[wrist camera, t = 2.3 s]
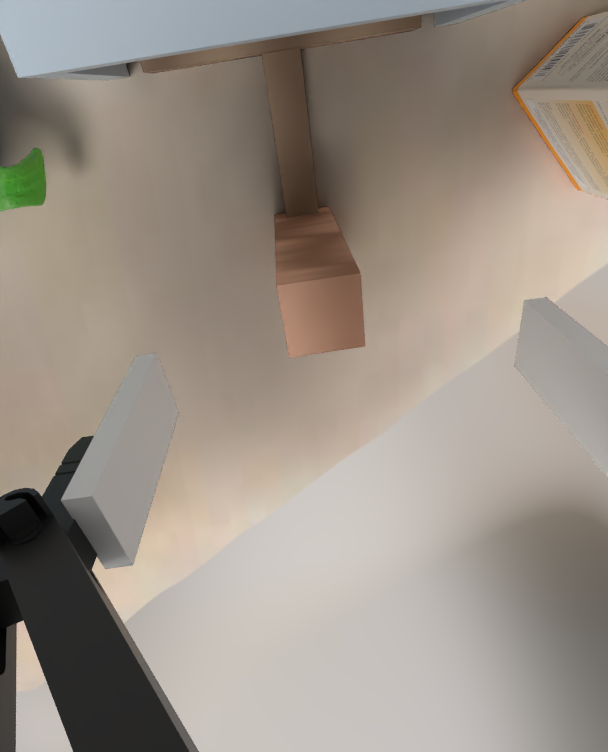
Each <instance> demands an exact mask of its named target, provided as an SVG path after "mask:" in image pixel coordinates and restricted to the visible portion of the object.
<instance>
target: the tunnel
mask: <svg viewBox="0 0 608 752" xmlns="http://www.w3.org/2000/svg"><path fill="white" fill-rule="evenodd" d="M523 1H526V0H0V35H1V37H2V40H3V42H4V45H5V47H6V50H7V52H8V54H9V57H10V59H11V62H12V64H13V67H14V69H15V72H16V74H17V77H18V78H42V79H75V80H107V81H108V80H114V79H120V78H126V77H129V73H128V70H127V66H126V63H129V62H136V61H142V60H148V59H154V58H160V57H166V56H172V55H178V54H184V53H191V52H197V51H203V50H209V49H215V48H221V47H227V46H233V45H239V44H245V43H252V42H258V41H264V40H270V39H276V38H282V37H288V36H294V35H300V34H307V33H313V32H319V31H325V30H331V29H337V28H343V27H349V26H355V25H361V24H368V23H374V22H380V21H386V20H392V19H398V18H404V17H410V16H416V15H422V14H429V13H434V27H439V26H445V25H451V24H457V23H460V22H463V21H466V20H469V19H472V18H475V17H478V16H481V15H484V14H487V13H490V12H493V11H496V10H499V9H502V8H505V7H508V6H511V5H514V4H517V3H520V2H523Z"/></svg>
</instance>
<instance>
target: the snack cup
mask: <svg viewBox="0 0 608 752" xmlns="http://www.w3.org/2000/svg"><path fill="white" fill-rule="evenodd" d="M45 196H46V180H45V170H44V160H43V155H42V151H41V150H40V149H38V148H34V149H33V150H32V151H31V153H30V154H29V155H28V156H27V157H26V158H25V159H23V160H22V161H21V162H20V163H19V164H17V165H14V166H11V167H0V211H4V210H8V209H14V208H19V207H24V206H38V205H42V204H43V203H44V200H45Z"/></svg>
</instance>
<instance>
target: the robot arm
mask: <svg viewBox="0 0 608 752" xmlns="http://www.w3.org/2000/svg"><path fill="white" fill-rule="evenodd" d="M514 366H515V368H516V369H517V370H518V371H519V373H520V374H521V375H522V376H523V377H524V379H525V380H526V381H527V382H528V383H529V385H530V386H531V387H532V388H533V389H534V391H535V392H536V393H537V394H538V395H539V397H540V398H541V399H542V400H543V401H544V403H545V404H546V405H547V406H548V407H549V409H550V410H551V411H552V412H553V413H554V415H555V416H556V417H557V418H558V419H559V420H560V422H561V423H562V424H563V425H564V426H565V428H566V429H567V430H568V431H569V432H570V434H571V435H572V436H573V437H574V438H575V440H576V441H577V442H578V443H579V444H580V446H581V447H582V448H583V449H584V450H585V452H586V453H587V454H588V455H589V456H590V457H591V459H592V460H593V461H594V462H595V464H596V465H597V466H598V467H599V468H600V470H601V471H602V472H603V473H604V474H605V476H606V477H607V478H608V346H607V345H606V344H604V343H603V342H602V341H601V340H599V339H598V338H597V337H596V336H594V335H593V334H592V333H591V332H589V331H588V330H587V329H586V328H584V327H583V326H582V325H581V324H579V323H578V322H577V321H575V320H574V319H573V318H572V317H570V316H569V315H568V314H567V313H565V312H564V311H563V310H562V309H560V308H559V307H558V306H557V305H555V304H554V303H553V302H552V301H550V300H549V299H548V298H547V297H545V298H538V299H531V300H524V306H523V312H522V319H521V325H520V332H519V338H518V345H517V351H516V358H515V365H514ZM178 414H179V412H178V409H177V406H176V403H175V401H174V398H173V395H172V393H171V390H170V387H169V385H168V382H167V379H166V376H165V374H164V371H163V368H162V366H161V363H160V360H159V358H158V355H157V353H153V354H146V355H138V356H136V357H135V359H134V361H133V362H132V364H131V366H130V368H129V370H128V372H127V374H126V376H125V378H124V380H123V382H122V384H121V385H120V387H119V389H118V391H117V393H116V395H115V397H114V399H113V401H112V403H111V405H110V407H109V408H108V410H107V412H106V414H105V416H104V418H103V420H102V422H101V424H100V426H99V428H98V430H97V431H96V433H95V435H94V436H88V437H82V438H81V439H80V440H79V441H78V442H77V443H76V444H74V445H73V446H72V447H71V448H70V449H69V451H68V452H67V454H66V456H65V458H64V459H63V461H62V465H60V466H59V468H58V470H57V472H56V473H55V474H56V476H54V477H53V479H52V480H51V482H50V484H49V486H48V487H47V489H46V491H45V493H44V494H43V496H42V497H41V495H40V494H39V493H38V492H37V491H36V490H35V489H30V488H23V489H18V490H14V491H12V492H10V493H7V494H5V495H3V496H1V497H0V752H15V746H16V738H15V737H16V625H17V623H18V622H20V621H23V620H24V623H25V625H26V628H27V631H28V633H29V636H30V639H31V641H32V644H33V646H34V649H35V652H36V654H37V657H38V660H39V662H40V665H41V668H42V670H43V673H44V676H45V678H46V681H47V683H48V686H49V689H50V691H51V694H52V697H53V699H54V702H55V704H56V707H57V710H58V712H59V715H60V718H61V720H62V723H63V726H64V728H65V731H66V734H67V736H68V739H69V741H70V744H71V747H72V749H73V752H199V751H198V750H197V748H196V746H195V744H194V743H193V741H192V739H191V738H190V736H189V734H188V732H187V731H186V729H185V727H184V726H183V724H182V722H181V721H180V719H179V717H178V715H177V714H176V712H175V710H174V709H173V707H172V705H171V703H170V702H169V700H168V698H167V697H166V695H165V693H164V692H163V690H162V688H161V686H160V685H159V683H158V681H157V680H156V678H155V676H154V675H153V673H152V671H151V670H150V668H149V666H148V664H147V663H146V661H145V659H144V658H143V656H142V654H141V652H140V651H139V649H138V647H137V646H136V644H135V642H134V641H133V639H132V637H131V635H130V634H129V632H128V630H127V629H126V627H125V625H124V624H123V622H122V620H121V618H120V617H119V615H118V613H117V612H116V610H115V608H114V607H113V605H112V603H111V601H110V600H109V598H108V596H107V595H106V593H105V591H104V590H103V588H102V586H101V584H100V583H99V581H98V579H97V578H96V576H95V575H94V573H93V572H92V567H93V565H94V562H95V559H96V557H98V559H99V560H100V562H101V563H102V565H103V566H104V568H105V569H108V568H116V567H124V566H132V565H133V564H134V560H135V557H136V554H137V550H138V547H139V544H140V540H141V537H142V534H143V530H144V527H145V524H146V520H147V517H148V514H149V510H150V507H151V504H152V500H153V497H154V494H155V490H156V487H157V484H158V480H159V477H160V474H161V470H162V467H163V464H164V460H165V457H166V454H167V450H168V447H169V444H170V441H171V437H172V434H173V431H174V427H175V424H176V421H177V417H178Z"/></svg>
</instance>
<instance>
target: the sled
mask: <svg viewBox="0 0 608 752" xmlns="http://www.w3.org/2000/svg"><path fill="white" fill-rule="evenodd" d="M420 27H421V15H416V16H410V17H404V18H398V19H392V20H386V21H380V22H374V23H368V24H361V25H355V26H349V27H343V28H337V29H331V30H325V31H319V32H313V33H307V34H300V35H294V36H288V37H282V38H276V39H270V40H264V41H258V42H252V43H245V44H239V45H233V46H227V47H221V48H215V49H209V50H203V51H197V52H191V53H184V54H178V55H172V56H166V57H160V58H154V59H148V60H142V61H140V62H141V65H142V69H143V72H145V73H157V72H163V71H169V70H175V69H182V68H188V67H194V66H200V65H206V64H212V63H218V62H224V61H231V60H237V59H243V58H249V57H255V56H261V55H262V59H263V65H264V72H265V79H266V85H267V92H268V98H269V105H270V112H271V118H272V125H273V131H274V138H275V145H276V151H277V158H278V164H279V171H280V178H281V184H282V191H283V197H284V204H285V211H286V213H284V214H278V215H274V217H275V253H276V286H277V292H278V298H279V303H280V309H281V314H282V320H283V326H284V331H285V337H286V342H287V348H288V354H289V358H290V357H297V356H303V355H310V354H317V353H324V352H330V351H337V350H344V349H351V348H357V347H364V346H365V334H364V319H363V304H362V289H361V274H360V271H359V269H358V267H357V265H356V263H355V261H354V259H353V256H352V254H351V252H350V250H349V248H348V246H347V244H346V242H345V240H344V238H343V235H342V233H341V231H340V229H339V227H338V225H337V223H336V221H335V219H334V217H333V215H332V212H331V210H330V208H329V207H323V208H318V202H317V193H316V184H315V175H314V166H313V157H312V148H311V139H310V130H309V121H308V112H307V103H306V95H305V86H304V77H303V68H302V59H301V50H300V49H304V48H310V47H316V46H323V45H329V44H335V43H341V42H347V41H353V40H359V39H365V38H372V37H378V36H384V35H390V34H396V33H402V32H408V31H412V30H415V29H417V28H420Z"/></svg>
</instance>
